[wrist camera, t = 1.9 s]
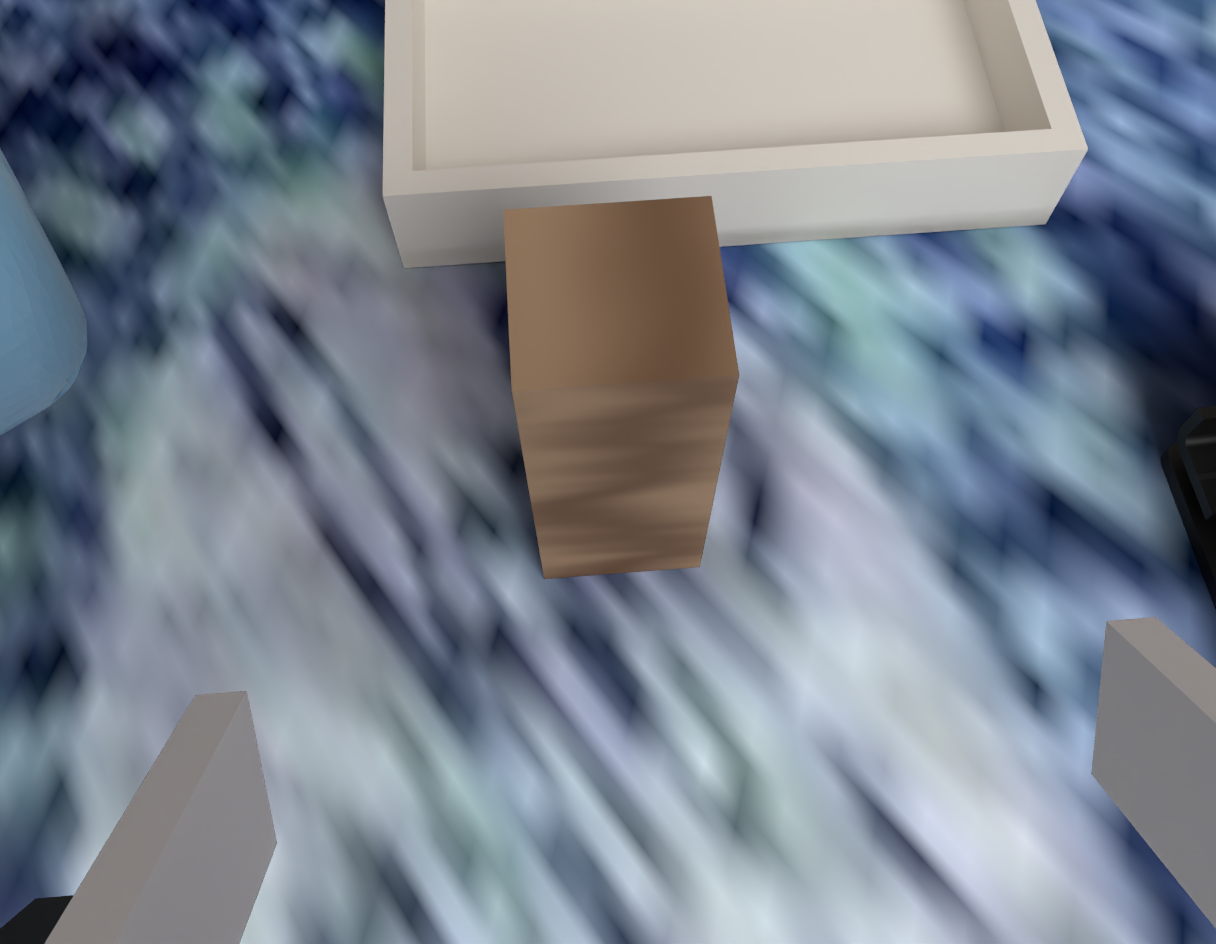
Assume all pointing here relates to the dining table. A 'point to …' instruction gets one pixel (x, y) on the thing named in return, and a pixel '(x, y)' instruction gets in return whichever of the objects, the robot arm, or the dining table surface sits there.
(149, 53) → the dining table surface
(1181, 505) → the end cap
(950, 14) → the sorting tray
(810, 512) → the dining table surface
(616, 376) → the walnut block
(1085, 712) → the dining table surface
